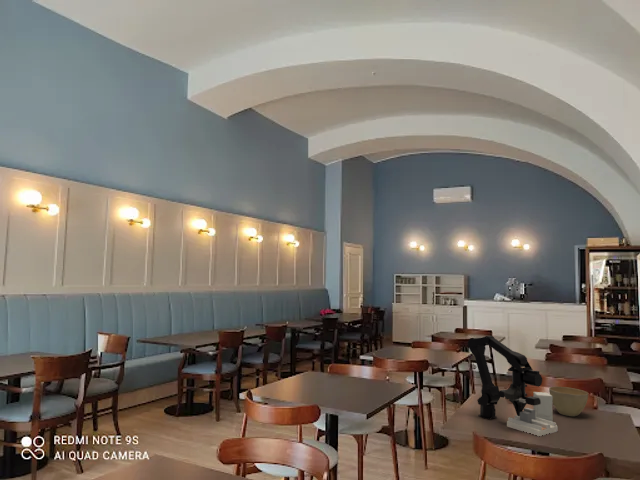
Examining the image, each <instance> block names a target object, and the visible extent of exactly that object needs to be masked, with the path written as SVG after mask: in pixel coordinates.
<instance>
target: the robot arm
mask: <svg viewBox="0 0 640 480" xmlns="http://www.w3.org/2000/svg"><path fill="white" fill-rule="evenodd" d="M486 346H489V347H490V348H491V349H493V350H494V351H496V352H497V353H498V354H500V355H501V356H503V357H504V358H505V359H506V362H507V363H508V364H509V365H510V366H511V367H509V368H508V369H507V371H509V372H511V378H512V380H511V381H512V383H510V384H509V388H507V389H502V390H501V389H500V388H499V386H498V385H495V384H494V383H493V380H492V377H491V373H490V370H489V365H488V363H487V359H486V356H485V354H486V353H485V352H486V348H487V347H486ZM467 347H468V348H469V349H468V350H469V351H470V353H471V354H472V355H473V356H474V359H475V363H476V367H477V369H478V374H479V377H480V381H481V385H482V386H481V391H480V392H481V395H480V396H479V398H478V399H477V404H478V405H479V406H480V411H479V412H480V414H478V417H480V418H483V419H487V420H492V419H496V418H497V415H496V412H497V411H496V405H498V402H499V401H500V399H501V398H505V399H506V400H508V401H509V402H510V403H512V405H513V408H514V410H515V413H516V415H517V416H520V412H522V411H524V408H526V405H530V406H533V405H539V404H541V400H540V399H539V398H538V397H533V396H531V395H530V396H528V393H526V388H527V387H528V385H529V386H534V387H541V385H542V383H543V377H542V374H540V370H533V368H532V366H531V365H530V363H529V361H528V358H527V356H526V355H524V354H523V353H520V352H516V351H514V350H512V349H511V348H509V347H508V346H506V345H505V344H503V343H502V342H501V341H499V340H498V339H496V337H495V336H493V335H485V336H483V337H471V338H469V339H468V341H467Z"/></svg>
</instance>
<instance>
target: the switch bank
mask: <svg viewBox="0 0 640 480" xmlns="http://www.w3.org/2000/svg"><path fill="white" fill-rule="evenodd" d="M507 418H508V419H507V421H506V427H508V428H511V429H514V430H518V431H520V432H523V431H524V432H523V433H526V432H527V434H529V433H531V434H530V435H532V434H534V435H533V436H535V435H537V436H536V437H539V436H540V437H543V436H547V435H549V433H550V434H553V433H557V432H558V428H559V427H558V425H557V422H555V421H552V422H551V421H548V420H544V419H541V418H537V417H535V420H534V419H532V424H531V423H528V422H524V421H521V420H520V416H517V414H516V415H514V417H510V416H509V417H507ZM546 434H547V435H546ZM542 435H543V436H542Z"/></svg>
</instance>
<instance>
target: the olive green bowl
mask: <svg viewBox="0 0 640 480" xmlns="http://www.w3.org/2000/svg"><path fill="white" fill-rule="evenodd" d="M548 389H549V390H548V393H549V394H550V395H551V396H552V405H553V406H554V408H555V409H556V411H557V412H558V413H559V414H560V415H563V416H567V417H577V416H579V415H580V414H581V413H582V412H583V411H584V409H585V407H586V405H587V402H588V400H589V392H588V391H585V390H582V389H578V388H572V387H567V386H550V387H549V388H548Z"/></svg>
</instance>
